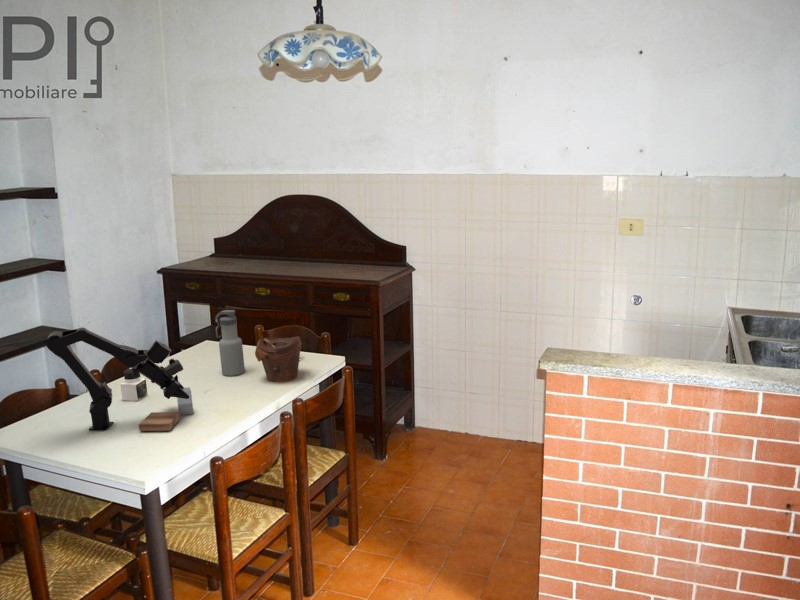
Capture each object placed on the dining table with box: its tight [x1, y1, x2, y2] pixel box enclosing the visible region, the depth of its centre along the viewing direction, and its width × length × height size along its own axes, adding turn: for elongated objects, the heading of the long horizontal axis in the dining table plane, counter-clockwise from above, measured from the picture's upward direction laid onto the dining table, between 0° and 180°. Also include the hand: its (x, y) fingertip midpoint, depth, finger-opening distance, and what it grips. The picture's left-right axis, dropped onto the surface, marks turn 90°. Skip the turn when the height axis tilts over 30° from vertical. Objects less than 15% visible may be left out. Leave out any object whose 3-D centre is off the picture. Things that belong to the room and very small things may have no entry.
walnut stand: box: [138, 411, 182, 432], centre depth 255 cm, size 11×11×3 cm
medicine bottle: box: [119, 367, 148, 402], centre depth 284 cm, size 7×7×12 cm
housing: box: [176, 386, 195, 417], centre depth 266 cm, size 5×5×9 cm
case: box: [254, 336, 302, 383], centre depth 300 cm, size 18×20×18 cm
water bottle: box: [214, 309, 245, 377], centre depth 307 cm, size 10×10×28 cm
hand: (188, 395), depth 266 cm, fingers closed on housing, 5 cm apart
